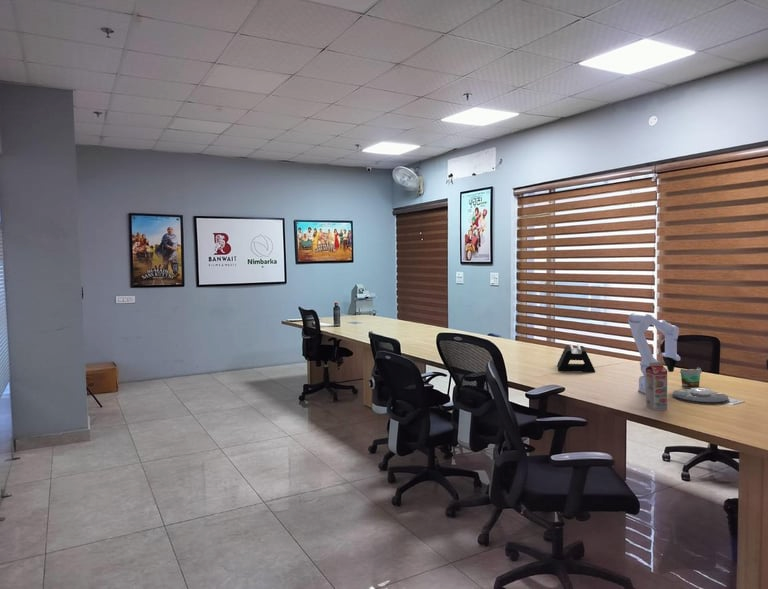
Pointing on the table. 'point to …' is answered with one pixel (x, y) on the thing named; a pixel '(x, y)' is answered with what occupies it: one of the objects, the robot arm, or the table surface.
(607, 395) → the table surface
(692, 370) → the food container
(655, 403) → the juice carton
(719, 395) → the turntable
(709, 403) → the turntable base
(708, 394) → the cover
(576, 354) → the device stand
